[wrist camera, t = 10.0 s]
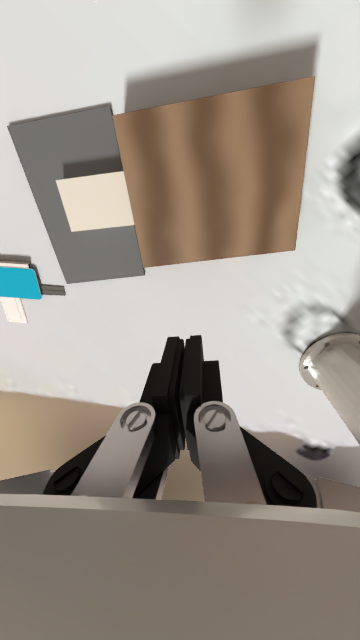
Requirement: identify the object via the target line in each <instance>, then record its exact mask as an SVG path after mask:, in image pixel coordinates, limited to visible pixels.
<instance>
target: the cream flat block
mask: <svg viewBox="0 0 360 640" xmlns="http://www.w3.org/2000/svg"><path fill="white" fill-rule="evenodd" d="M56 183H57V187H58V190H59V193H60V196H61V199H62V203H63V206H64V209H65V212H66V216H67V219H68V222H69V225H70V228H71V232H75V231H84V230H93V229H102V228H111V227H121V226H130V225H134V220H133V215H132V210H131V205H130V200H129V195H128V190H127V186H126V181H125V176H124V171H121V172H113V173H106V174H99V175H91V176H84V177H76V178H69V179H62V180H56Z"/></svg>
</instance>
